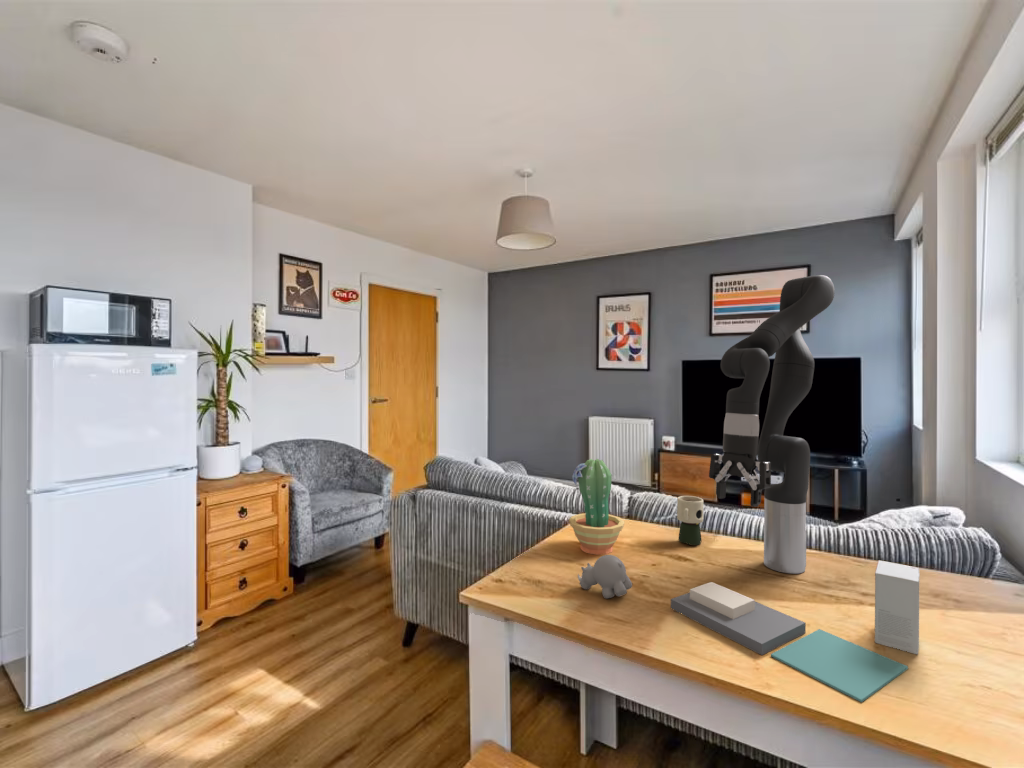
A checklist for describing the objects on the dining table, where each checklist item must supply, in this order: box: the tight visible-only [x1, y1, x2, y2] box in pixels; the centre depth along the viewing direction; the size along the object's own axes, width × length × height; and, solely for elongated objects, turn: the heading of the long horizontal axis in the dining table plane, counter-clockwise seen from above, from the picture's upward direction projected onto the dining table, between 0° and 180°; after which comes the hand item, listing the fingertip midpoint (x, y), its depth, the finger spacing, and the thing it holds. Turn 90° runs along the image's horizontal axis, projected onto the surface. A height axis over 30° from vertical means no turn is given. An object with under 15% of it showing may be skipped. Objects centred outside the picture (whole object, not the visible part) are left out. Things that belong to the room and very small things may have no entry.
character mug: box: [676, 495, 704, 546], centre depth 142 cm, size 11×7×13 cm, turn 147°
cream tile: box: [689, 581, 756, 619], centre depth 100 cm, size 7×10×2 cm
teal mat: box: [770, 628, 909, 703], centre depth 84 cm, size 16×14×1 cm
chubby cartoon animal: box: [577, 554, 633, 599], centre depth 110 cm, size 7×12×8 cm, turn 54°
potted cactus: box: [568, 458, 625, 555], centre depth 138 cm, size 15×16×25 cm
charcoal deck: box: [670, 591, 807, 656], centre depth 98 cm, size 14×20×2 cm
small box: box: [874, 559, 921, 655], centre depth 91 cm, size 8×6×13 cm
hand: (737, 502), depth 115 cm, fingers open, 8 cm apart
